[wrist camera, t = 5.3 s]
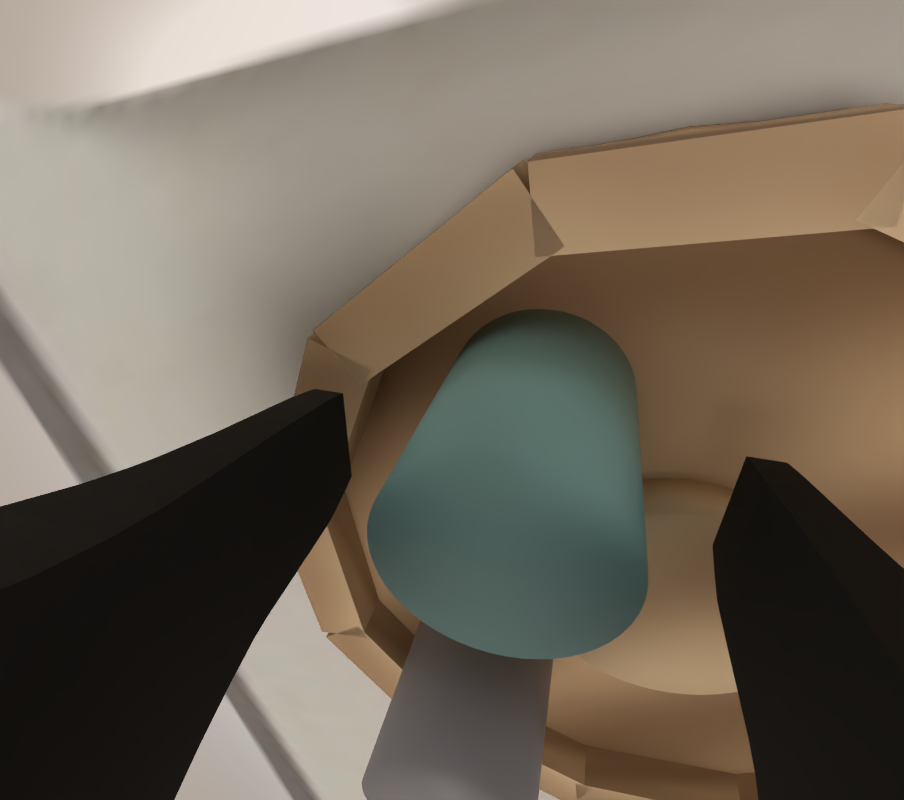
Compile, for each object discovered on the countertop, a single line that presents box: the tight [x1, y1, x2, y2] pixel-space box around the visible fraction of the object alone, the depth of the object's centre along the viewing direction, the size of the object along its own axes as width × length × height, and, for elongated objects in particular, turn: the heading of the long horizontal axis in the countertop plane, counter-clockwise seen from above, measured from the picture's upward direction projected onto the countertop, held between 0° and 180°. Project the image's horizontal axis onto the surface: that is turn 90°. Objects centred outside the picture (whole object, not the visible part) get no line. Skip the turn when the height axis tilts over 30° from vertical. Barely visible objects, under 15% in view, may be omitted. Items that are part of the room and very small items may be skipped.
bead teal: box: [367, 309, 648, 659], centre depth 10 cm, size 4×4×5 cm
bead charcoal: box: [362, 621, 553, 800], centre depth 14 cm, size 4×4×5 cm
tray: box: [294, 103, 904, 800], centre depth 13 cm, size 20×20×2 cm
